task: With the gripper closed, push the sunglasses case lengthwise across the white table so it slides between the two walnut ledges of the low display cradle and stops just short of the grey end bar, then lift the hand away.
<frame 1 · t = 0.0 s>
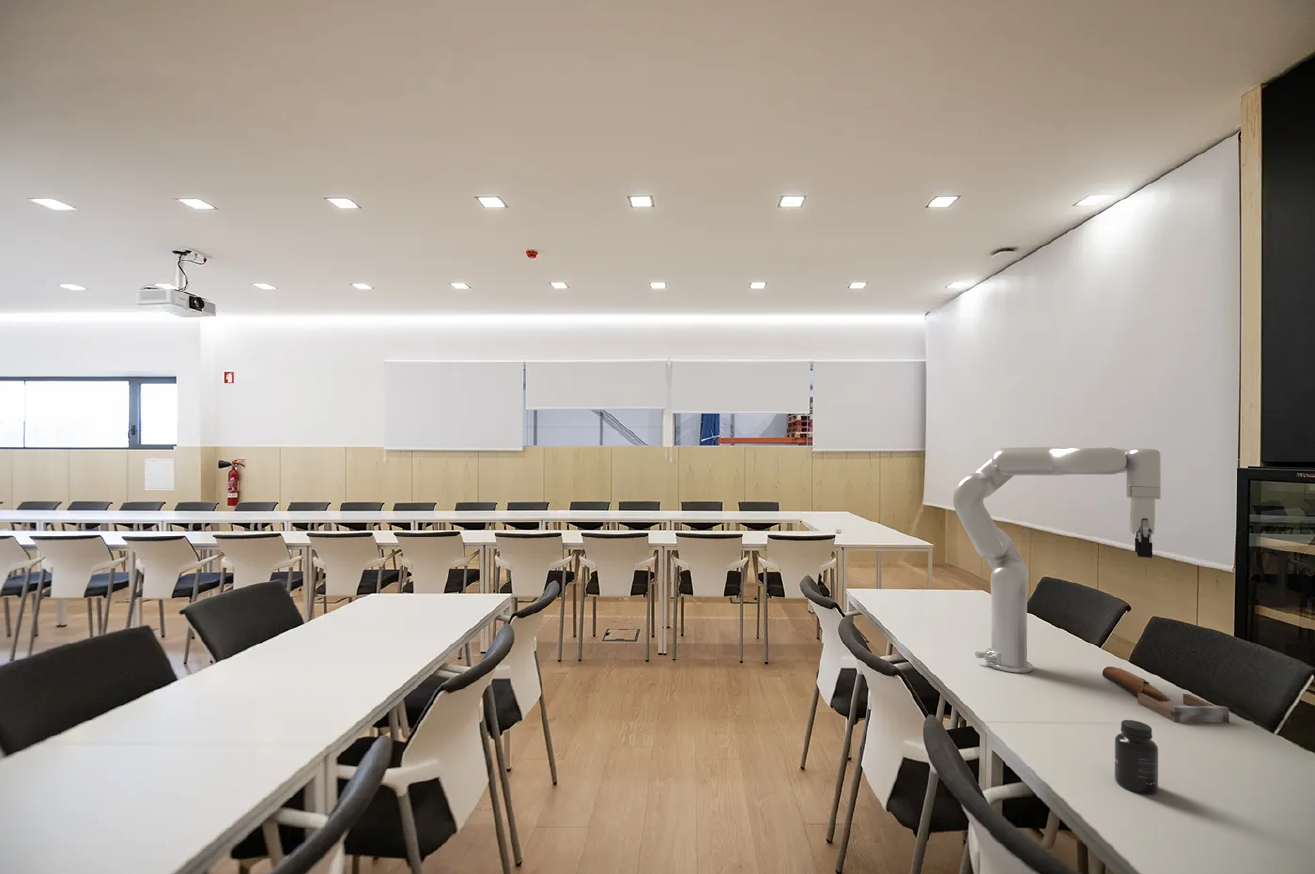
hand: (1143, 554, 175), 37 cm above the table, tool pointing down, fingers open, 9 cm apart
supplement bottle: (1136, 787, 124), on the table
cradle: (1180, 711, 160), on the table
sunglasses case: (1136, 691, 176), on the table
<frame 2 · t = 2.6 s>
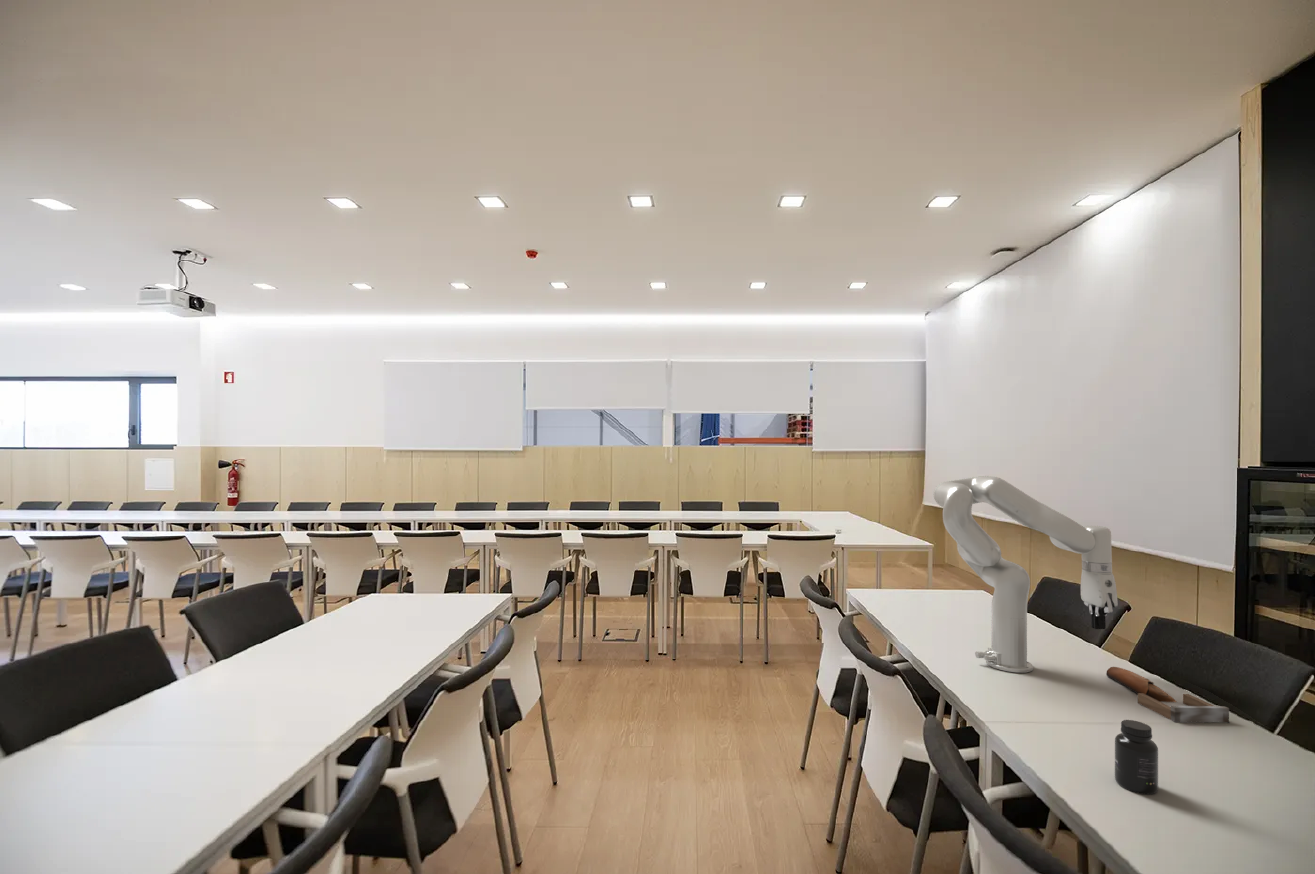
hand: (1098, 628, 191), 12 cm above the table, tool pointing down, fingers closed
sunglasses case: (1140, 691, 175), on the table
everything else where it was.
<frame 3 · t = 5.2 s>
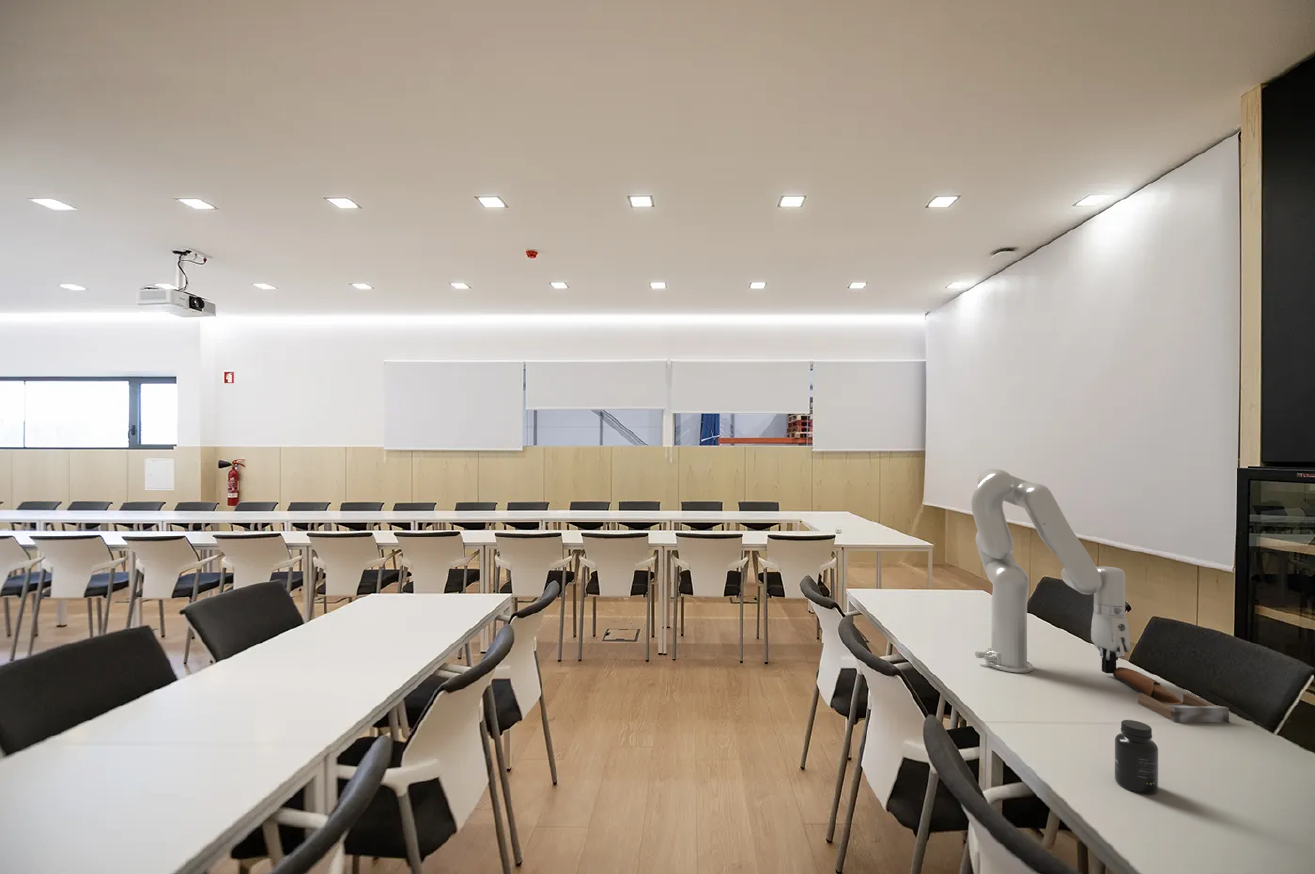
hand: (1108, 672, 185), 1 cm above the table, tool pointing down, fingers closed
sunglasses case: (1146, 692, 174), on the table, touching cradle, gripper
everything else where it was.
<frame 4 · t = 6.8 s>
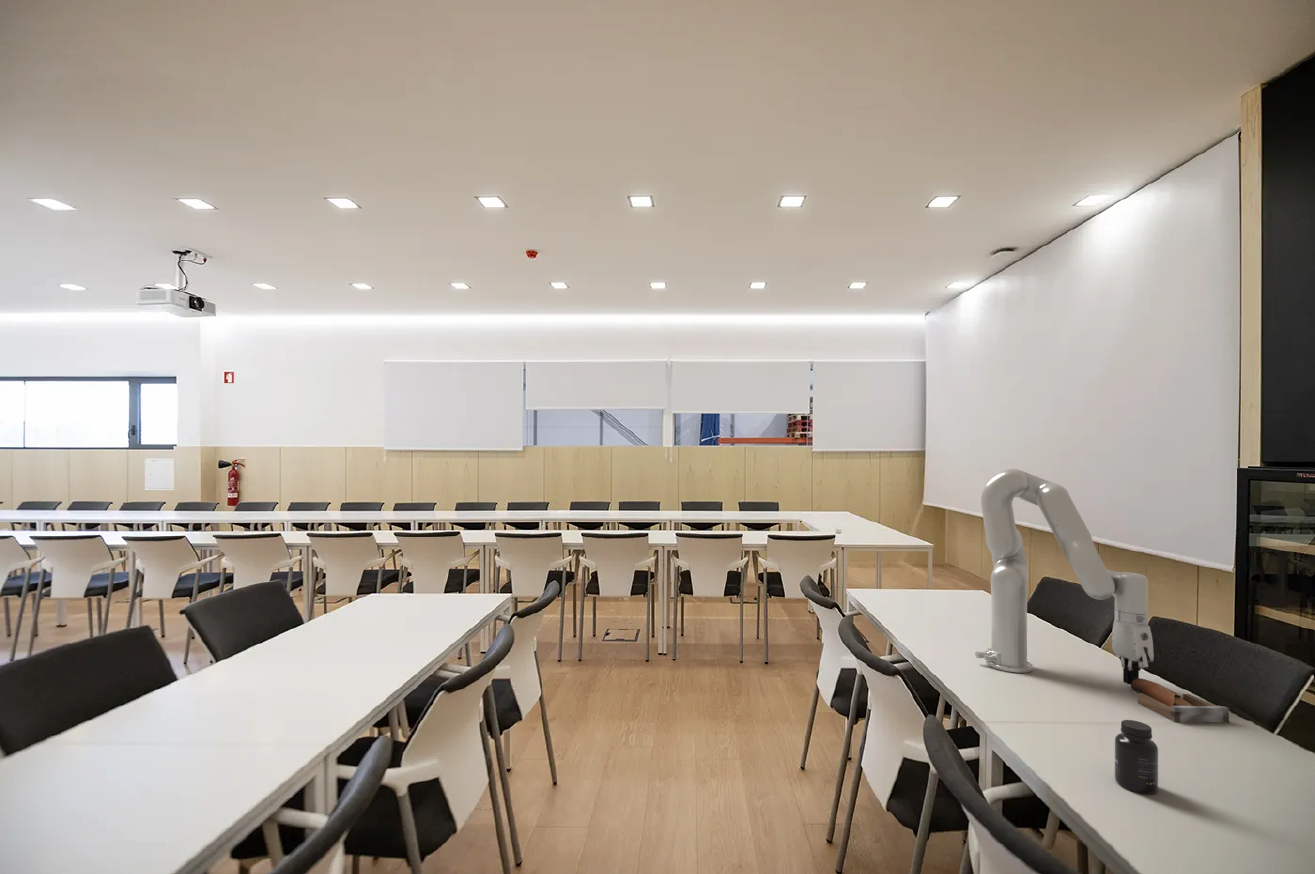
hand: (1131, 683, 177), 1 cm above the table, tool pointing down, fingers closed
sunglasses case: (1167, 705, 166), on the table
everything else where it was.
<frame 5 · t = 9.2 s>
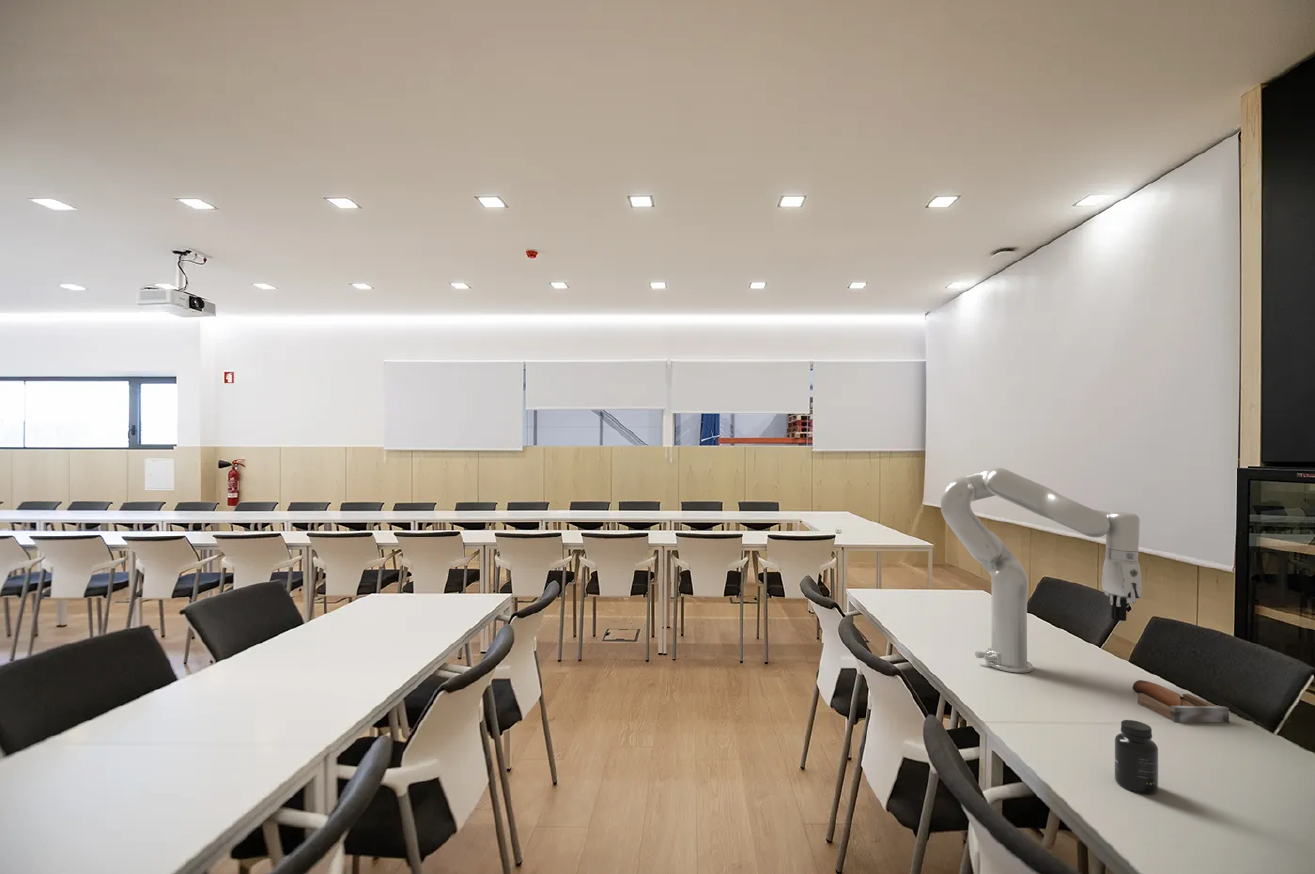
hand: (1118, 619, 181), 18 cm above the table, tool pointing down, fingers closed
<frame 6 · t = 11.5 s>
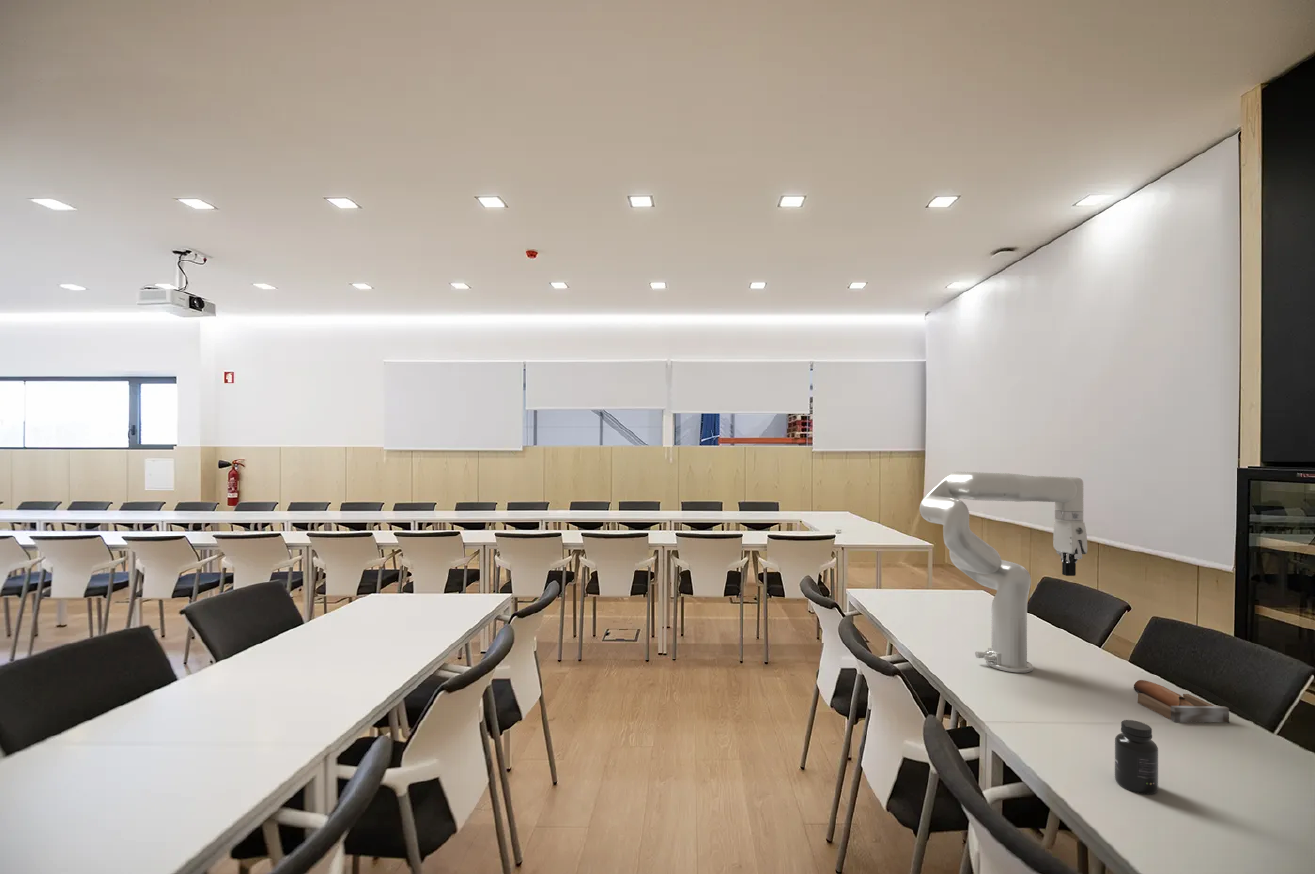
hand: (1068, 575, 198), 27 cm above the table, tool pointing down, fingers closed
sunglasses case: (1170, 707, 165), on the table, touching cradle
everything else where it was.
at the end: sunglasses case 1.4 cm from the target spot on the cradle, point -0.7 cm above the cradle's base; sunglasses case tilted 0°; sunglasses case moved 10.9 cm from its start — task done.
